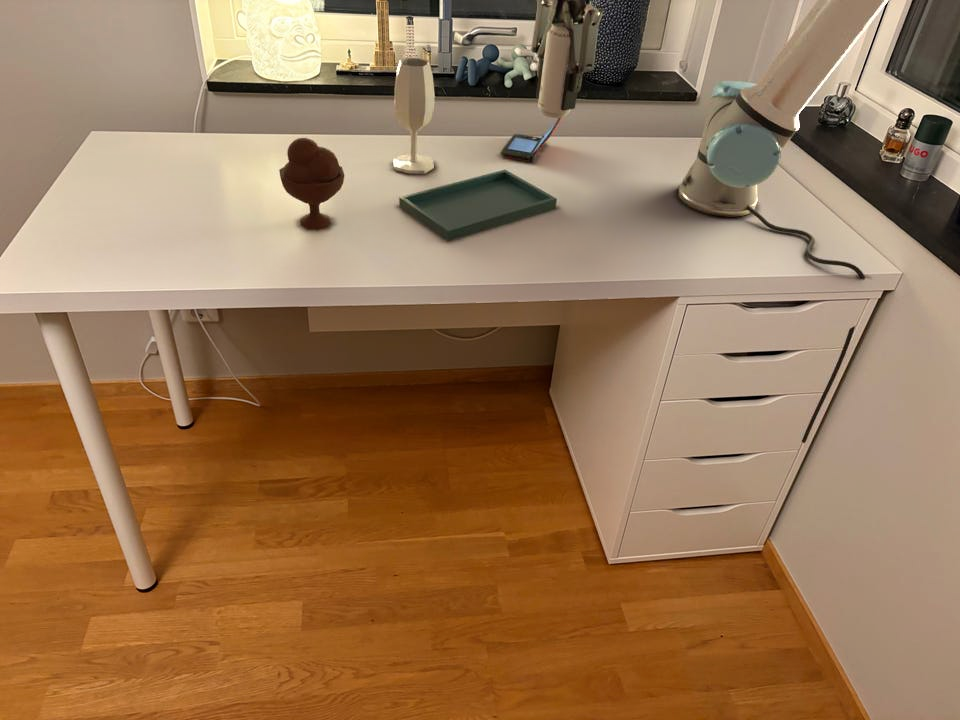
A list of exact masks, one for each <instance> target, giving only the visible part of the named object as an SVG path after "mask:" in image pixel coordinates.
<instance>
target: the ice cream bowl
mask: <svg viewBox="0 0 960 720" xmlns="http://www.w3.org/2000/svg"><path fill="white" fill-rule="evenodd" d="M286 151H287V152H286V155H287V160H288V161H287V163H285V165H284V166H283V167H281V168H280V169H278V171H279V178H280V181H281V184H282V187H283V189H284V190H285V193H287V194H288V195H289V196H291V197H292V198H294V199H295V200H298V201H300V202H302V203H304V204H307V205H308V206H309V213H307V214H305V215H303V216H302V217H301V218H300V219H299V223H300V224H299V225H300V227H301V228H304V229H307V230H312V231H313V230H315V231H318V230H323V229H327V228H328V227H329V226H330V225H332V222H331V218H330V216H328V215H326V214H324V213H322V212H321V211H320V205H321V204H323V203H325V202H327V201H329V200H330V199H332V198H333V197H334V196H335V195H336V194H337V193H338V192H339V191H341V189H342V187H343V184H344V182H345V180H344V179H345V172H344V169H343V166H341V165H340V163H339V159H338V157H337V156H336V155H335V153H334V152H333V151H332V150H330V149H328V148H326V147H323V146H319V145H318V143H317V142H316V141H315V140H313V139H311V138H308V137H299V138H296V139H294V140H293V141H292V142H291V143H290V144H289V146H288V148H287V150H286Z"/></svg>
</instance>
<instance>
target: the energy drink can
mask: <svg viewBox="0 0 960 720" xmlns="http://www.w3.org/2000/svg"><path fill="white" fill-rule="evenodd" d="M573 24H576V23H573ZM569 48H570V36H569V30H567V29H566V25H565V23H555V24H553V23H552V27H551V29H550V30H549V31H548V33H547V39H546V47H545V55H544V63H543V70H542V78H541V86H540V94H539V99H538V103H537V107H538V109H539V110H540V111H539V112H540V114H541V115H543V116H545V117H547V118H553V119H558V118H566V117H567V116H568V114H569V113H570V112H572V109H570V110H565V111H563V110H561V105H562V98H563V91H564V84H565V78H566V72H567V70H570V55H569ZM577 65H578V64H577Z"/></svg>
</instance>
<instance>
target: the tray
mask: <svg viewBox="0 0 960 720" xmlns="http://www.w3.org/2000/svg"><path fill="white" fill-rule="evenodd" d="M557 200H558V198H556V197H555V196H553V195H551V194H550V193H547V192H546V191H545V190H543V189H541V188H539V187H537V186H536V185H533V184H532V183H530V182H529V181H526V180H525V179H523V178H521V177H519V176H518V175H516V174H514V173H512V172H511V171H509V170H507V169H502V170H498V171H494V172H489V173H485V174H483V175H479V176H475V177H471V178H468V179H462V180H459V181H455V182H452V183H448V184H444V185H440V186H436V187H433V188H429V189H425V190H421V191H417V192H413V193H410V194H406V195H402V196H399V197H398V207H399V208H400V209H402V210H403V211H404V212H406V213H408V214H409V215H410V216H411V217H413V218H414V219H416V220H417V221H419V222H420V223H421V224H423V225H424V226H426V227H427V228H428V229H429V230H431V231H433V232H434V233H436V234H437V235H439V236H440V237H441V238H442V239H444V240H445V241H447V242H450V241H454V240H456V239H461V238H463V237H467V236H469V235H472V234H477V233H480V232H483V231H486V230H490V229H493V228H496V227H499V226H502V225H506V224H508V223H513V222H515V221H518V220H522V219H524V218H529V217H532V216H534V215H538V214H541V213H544V212H547V211H551V210H553V209H556V208H557V202H558V201H557Z"/></svg>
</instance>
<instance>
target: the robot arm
mask: <svg viewBox="0 0 960 720" xmlns="http://www.w3.org/2000/svg"><path fill="white" fill-rule="evenodd" d="M888 1H889V0H817V1H816V2H815V4H814V5H813V6H812V8H811V9H810V10H809V12H808V13H807V14H806V16H805V17H804V19H803V20H802V21H801V23H800V24H799V26H798V27H797V28H796V30H795V31H794V32H793V34H792V35H791V36H790V38H789V39H788V41H787V42H786V43H785V45H784V47H783V48H781V50H780V51H779V53H778V54H777V56H776V57H775V59H774V60H773V61H772V62H771V64H770V65H769V67H768V68H767V70H766V71H765V72H764V74H763V75H762V77H761V78H760V79H759V80H758V82H757V83H752V82H745V81H736V80H724V81H720V82H718V83H716V85H715V86H714V88H713V91H712V94H711V95H710V99H709V100H710V102H709V107H708V111H707V115H706V119H705V123H704V126H703V131H702V136H701V139H700V143H699V147H698V151H697V155H696V157H695V160H694V161H693V163H692V165H691V166H690V167H689V170H688V171H687V173H686V174H685V176H684V178H683V179H682V180H681V182H680V185H679V189H678V197H679V199H680V201H682V203H684V204H685V205H687V206H688V207H690V208H692V209H694V210H695V211H698V212H702V213H705V214H708V215H713V216H718V217H728V218H729V217H730V218H731V217H732V218H733V217H742V216H746V215H749V214H752V215H753V216H755V217H756V218H757V219H758V220H759V221H760V222H761V223H762V224H763V225H764V226H766V227H767V228H768V229H771V230H773V231H777V232H782V233H788V234H789V233H790V234H796V235H799V236H803V237H805V238H807V239H808V241H809V243H808V245H807V246H806V248H805V255H806V257H807V258H808V259H810V260H811V261H813V262H815V263H817V264H822V265H828V266H829V265H830V266H840V267H844V268H848V269H850V270H852V271H853V272H854V273H856V274H857V276H858V277H859V278H860V279H862V280H865V279H866V277H865V274H864V273H863V271H862V269H860V268H859V267H858V266H856V265H855V264H853V263H851V262H847V261H841V260H833V259H823V258H821V257H816V256H815V255H814V254H812V252H811V250H812V248H813V247H814V245H815V243H816V241H815V238H814V236H813V235H811V234H810V233H809V232H807V231H804V230H801V229H797V228H788V227H782V226H779V225H775V224H772V223H771V222H769V221H768V220H766V218H765V217H764V216H763V215H761V213H759V212H758V211H757V210H755V209H756V206H757V202H758V185H760V184H761V183H763V182H765V181H767V180H768V179H769V178H770V177H771V176H772V175H773V174H774V172H775V171H776V169H777V167H778V165H779V164H780V160H781V159H782V158H781V157H782V150H783V149H784V148H785V146H786V145H787V144H788V143H789V141H790V140H791V139H792V138H793V136H794V135H795V134H796V132H797V131H798V130H799V129H800V120H799V114H800V113H801V111H803V109H804V108H805V107H806V106H807V104H808V103H809V102H810V100H811V99H812V98H813V96H814V95H815V94H816V93H817V92H818V90H819V89H820V88H821V86H822V85H823V84H824V82H825V81H826V80H827V79H828V77H829V76H830V75H831V73H832V72H834V70H835V69H836V67H837V66H838V65H839V64H840V63H841V61H842V60H843V59H844V57H845V56H846V54H847V53H849V51H850V50H851V48H852V47H853V46H854V44H855V43H856V42H857V40H858V39H859V38H860V37H861V35H863V33H864V32H865V31H866V29H867V28H868V27H869V25H870V24H871V23H872V21H873V20H874V19H875V18H876V16H878V14H879V13H880V11H881V10H882V9H883V7H884V6H885V5H886V4H887V3H888ZM536 3H537V5H536V6H537V9H536V15H535V20H534V28H533V34H532V40H531V47H530V51H531V53H534V54H535V55H536V57H537V59H538V62H537V70H536V76H537V85H536V92H535V98H537V99H538V100H539V94H540V86H541V78H542V70H543V63H544V55H545V47H546V39H547V33H548V31H549V30H550V29H551V27H552V23H553V24H555V23H565V25H566V29H567V30H569V36H570V48H569V55H570V70H567V72H566V78H565V84H564V91H563V98H562V105H561V110H563V111H565V110H570V109H571V110H574V109H576V104H577V95H578V93H579V92H580V91H581V89H582V88H581V87H582V81H583V75H584V73H588V72H592V71H593V70H594V67H595V60H596V59H595V58H596V52H597V51H596V49H597V43H598V33H599V24H600V22H601V19H602V17H603V12H604V11H603V9H602V8H596V7H595V6H594V5H592V1H591V0H536ZM573 23H575V24H573ZM577 64H578V65H577ZM855 328H856V325H854V326H851V327H850V328H849V330H848V332H847V335H846V338H845V341H844V344H843V347H842V350H841V352H840V355H839V357H838V359H837V362H836V364H835V366H834V369H833V371H832V373H831V376H830V378H829V380H828V382H827V384H826V386H825V388H824V390H823V393H822V395H821V396H820V399H819V401H818V402H817V405H816V407H815V409H814V412H813V413H812V415H811V418H810V420H809V423H808V424H807V427H806V429H805V432H804V434H803V437H802V439H801V443H803V444H805V443H807V439H808V437H809V435H810V432H811V430H812V428H813V426H814V423H815V421H816V419H817V417H818V416H819V413H820V411H821V408H822V407H823V404H824V402H825V401H826V398H827V396H828V394H829V392H830V390H831V388H832V385H834V384H833V383H834V382H835V379H836V377H837V375H838V373H839V370H840V368H841V366H842V364H843V361H844V359H845V357H846V354H847V351H848V349H849V346H850V344H851V340H852V337H853V334H854V332H855Z"/></svg>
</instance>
